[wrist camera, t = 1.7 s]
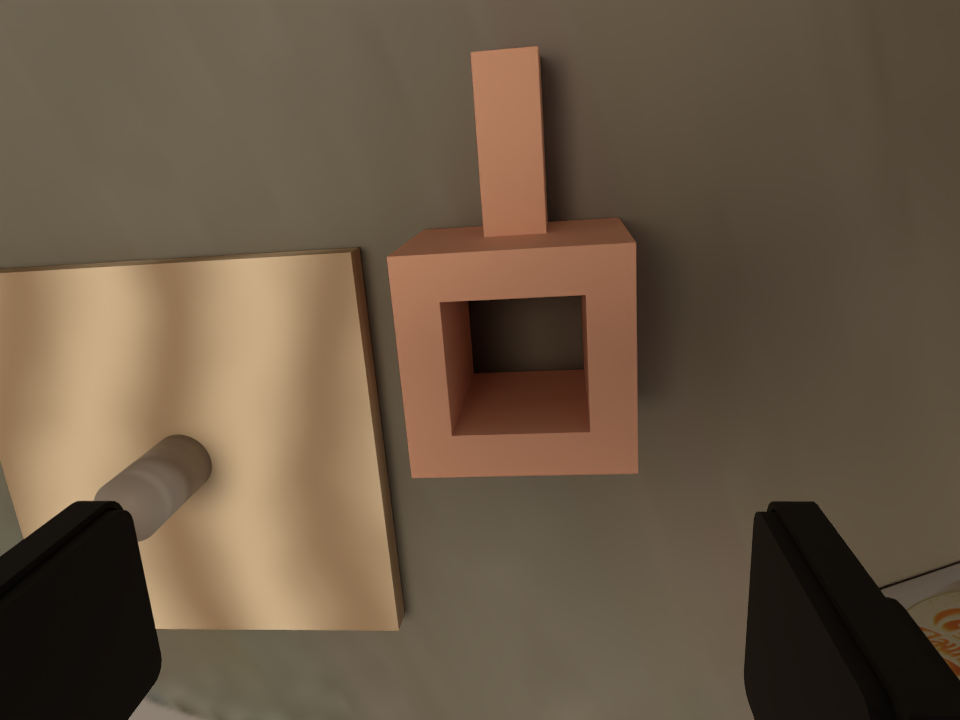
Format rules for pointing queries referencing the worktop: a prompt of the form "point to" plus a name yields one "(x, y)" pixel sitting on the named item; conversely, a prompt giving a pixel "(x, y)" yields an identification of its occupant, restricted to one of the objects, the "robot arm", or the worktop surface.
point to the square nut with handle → (508, 275)
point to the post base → (210, 430)
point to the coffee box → (935, 609)
